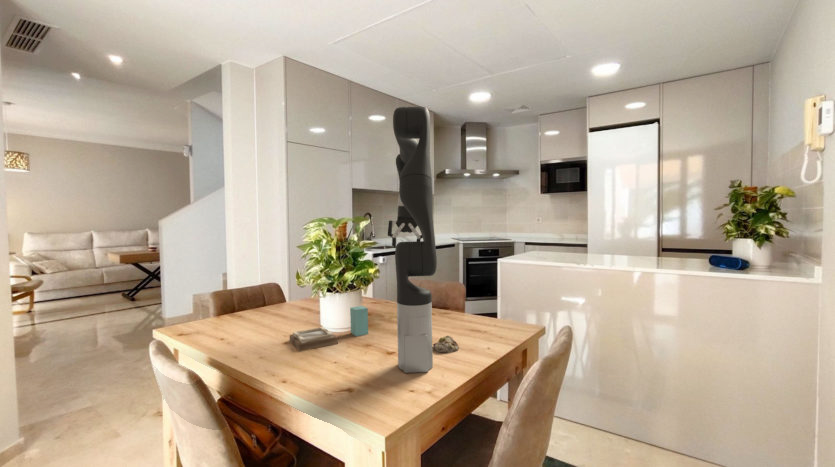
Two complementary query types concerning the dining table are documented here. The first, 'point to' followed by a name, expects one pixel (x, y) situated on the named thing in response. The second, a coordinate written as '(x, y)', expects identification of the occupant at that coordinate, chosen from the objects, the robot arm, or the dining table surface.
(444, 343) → the mineral rock
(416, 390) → the dining table surface
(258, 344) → the dining table surface
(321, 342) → the block
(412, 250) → the robot arm
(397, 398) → the dining table surface
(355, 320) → the teal block
